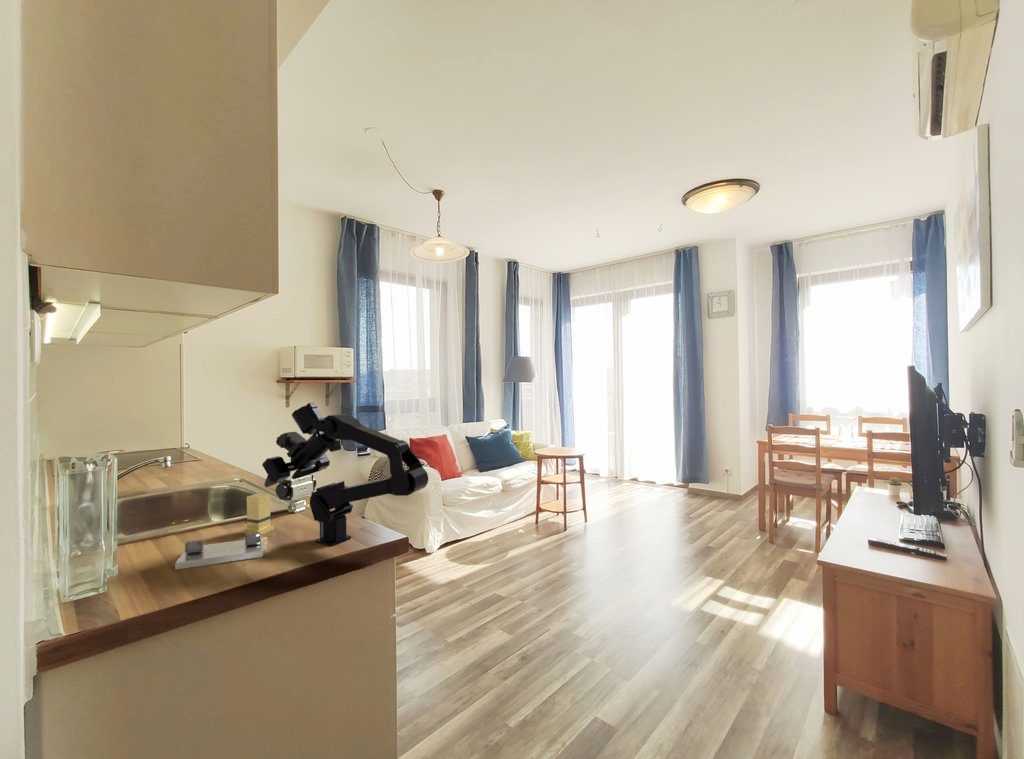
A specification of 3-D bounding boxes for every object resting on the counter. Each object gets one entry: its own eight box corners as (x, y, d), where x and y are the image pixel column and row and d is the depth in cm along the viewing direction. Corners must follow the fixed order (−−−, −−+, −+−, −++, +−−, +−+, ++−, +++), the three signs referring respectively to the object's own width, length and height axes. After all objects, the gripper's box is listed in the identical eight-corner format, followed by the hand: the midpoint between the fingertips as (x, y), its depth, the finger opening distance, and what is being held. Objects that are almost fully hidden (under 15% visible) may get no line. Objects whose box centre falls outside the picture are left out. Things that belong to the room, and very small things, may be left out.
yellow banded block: (273, 529, 126) (273, 493, 125) (258, 535, 121) (258, 498, 120) (259, 527, 127) (258, 492, 127) (243, 533, 122) (243, 497, 122)
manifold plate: (267, 542, 115) (267, 526, 115) (262, 557, 106) (262, 539, 106) (187, 553, 108) (187, 535, 108) (175, 569, 99) (175, 550, 99)
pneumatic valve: (275, 515, 138) (275, 476, 138) (306, 505, 149) (306, 469, 148) (288, 517, 136) (287, 478, 136) (318, 507, 146) (318, 470, 146)
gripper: (324, 420, 129) (291, 452, 133) (270, 427, 111) (234, 464, 115) (345, 451, 127) (310, 483, 130) (293, 463, 109) (255, 500, 113)
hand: (279, 481), depth 122 cm, fingers open, 9 cm apart
